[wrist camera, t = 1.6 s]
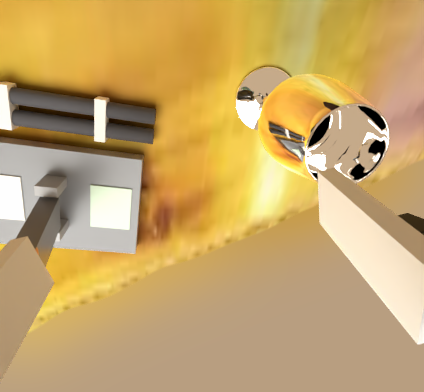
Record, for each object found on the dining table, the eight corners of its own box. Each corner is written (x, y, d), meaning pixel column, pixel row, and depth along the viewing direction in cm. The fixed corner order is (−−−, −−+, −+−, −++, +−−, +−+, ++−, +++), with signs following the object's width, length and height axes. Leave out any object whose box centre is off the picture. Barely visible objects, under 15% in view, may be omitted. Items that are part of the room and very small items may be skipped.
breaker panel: (-13, 233, 41) (-38, 256, 36) (-31, 132, 35) (-63, 145, 30) (137, 245, 44) (132, 268, 39) (144, 155, 38) (139, 169, 34)
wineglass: (309, 100, 37) (429, 148, 19) (261, 144, 39) (330, 224, 21) (270, 50, 34) (369, 50, 16) (220, 99, 36) (261, 149, 18)
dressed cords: (-43, 117, 34) (-55, 121, 32) (-51, 72, 32) (-65, 74, 30) (153, 144, 38) (151, 148, 36) (156, 105, 36) (155, 108, 34)
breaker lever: (42, 221, 37) (3, 299, 26) (39, 192, 35) (-3, 262, 24) (65, 221, 38) (37, 298, 27) (63, 193, 36) (33, 262, 25)
